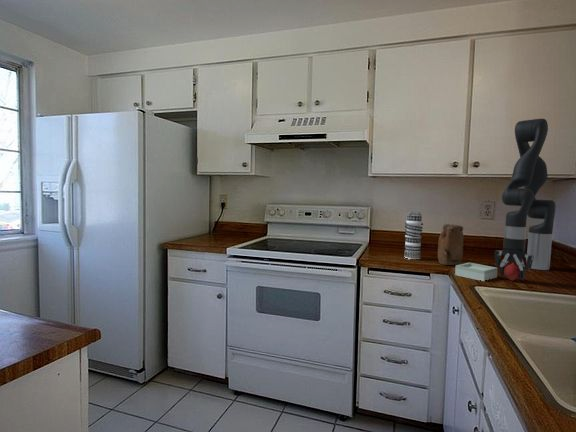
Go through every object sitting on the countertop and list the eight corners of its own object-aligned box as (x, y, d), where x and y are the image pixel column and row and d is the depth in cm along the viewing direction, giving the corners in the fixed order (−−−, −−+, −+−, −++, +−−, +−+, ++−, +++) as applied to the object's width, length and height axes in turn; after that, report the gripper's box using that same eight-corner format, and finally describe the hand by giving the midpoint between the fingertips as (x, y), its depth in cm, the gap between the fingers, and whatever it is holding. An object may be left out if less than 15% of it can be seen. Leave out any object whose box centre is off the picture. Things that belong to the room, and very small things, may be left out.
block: (452, 262, 176) (454, 223, 174) (463, 265, 169) (466, 225, 167) (434, 263, 173) (437, 224, 171) (445, 266, 166) (448, 225, 164)
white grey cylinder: (409, 255, 191) (411, 211, 189) (424, 258, 183) (427, 212, 181) (399, 257, 185) (401, 211, 183) (414, 260, 178) (417, 213, 176)
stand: (468, 271, 156) (469, 262, 156) (496, 277, 147) (497, 267, 146) (455, 274, 149) (455, 265, 149) (483, 281, 140) (484, 271, 139)
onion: (500, 280, 142) (502, 261, 141) (507, 278, 145) (508, 259, 145) (516, 283, 137) (517, 263, 136) (522, 281, 140) (523, 262, 140)
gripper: (538, 238, 136) (535, 280, 138) (499, 234, 148) (497, 272, 149) (531, 240, 132) (528, 283, 133) (491, 235, 143) (489, 275, 145)
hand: (511, 277), depth 141 cm, fingers closed on onion, 6 cm apart
